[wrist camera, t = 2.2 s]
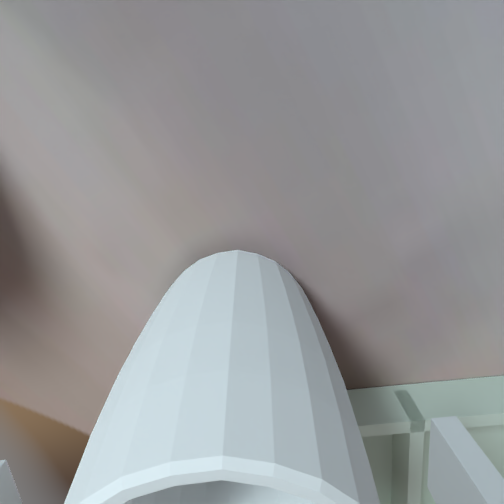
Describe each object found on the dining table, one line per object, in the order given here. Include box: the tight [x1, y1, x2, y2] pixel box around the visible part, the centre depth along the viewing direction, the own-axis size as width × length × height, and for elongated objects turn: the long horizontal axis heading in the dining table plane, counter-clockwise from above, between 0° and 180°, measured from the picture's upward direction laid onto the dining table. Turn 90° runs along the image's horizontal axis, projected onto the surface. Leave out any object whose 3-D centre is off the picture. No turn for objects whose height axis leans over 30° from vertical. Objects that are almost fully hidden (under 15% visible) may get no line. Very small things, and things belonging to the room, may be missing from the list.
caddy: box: [347, 376, 504, 504], centre depth 24 cm, size 12×23×3 cm, turn 96°
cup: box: [64, 250, 380, 504], centre depth 15 cm, size 8×8×14 cm
